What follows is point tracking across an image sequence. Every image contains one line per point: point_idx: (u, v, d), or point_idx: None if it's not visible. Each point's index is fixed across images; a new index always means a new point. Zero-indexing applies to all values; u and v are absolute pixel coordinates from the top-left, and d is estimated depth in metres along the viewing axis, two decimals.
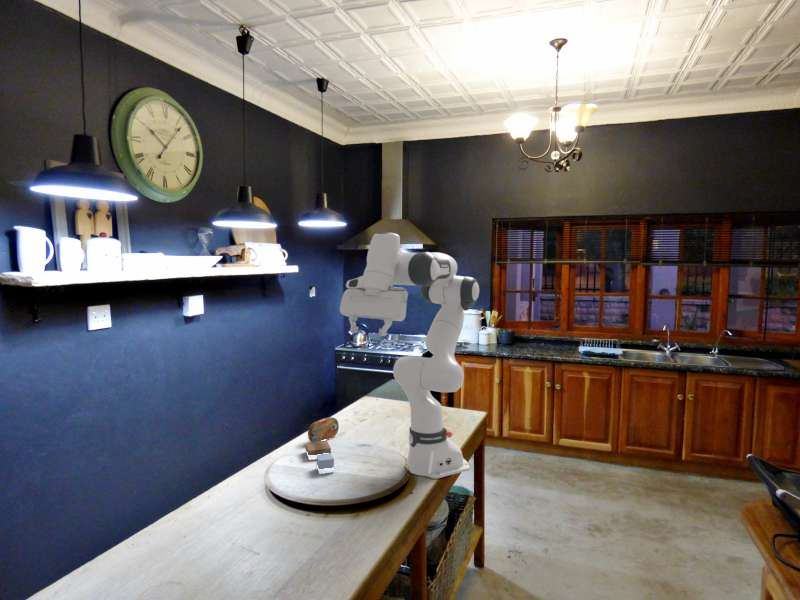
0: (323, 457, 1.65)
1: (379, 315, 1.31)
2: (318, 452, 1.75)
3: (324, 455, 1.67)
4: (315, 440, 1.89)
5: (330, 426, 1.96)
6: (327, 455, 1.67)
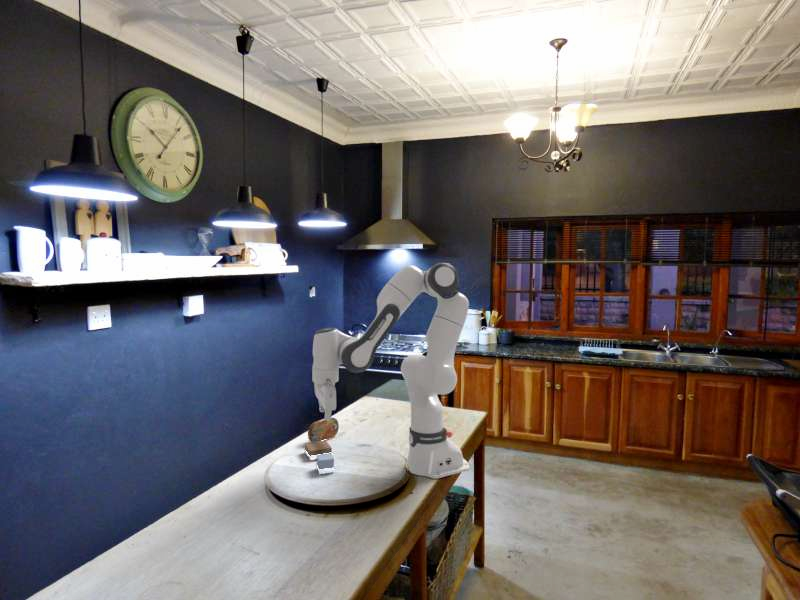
0: (323, 457, 1.65)
1: (322, 404, 1.60)
2: (319, 452, 1.75)
3: (324, 455, 1.67)
4: (315, 440, 1.89)
5: (330, 426, 1.96)
6: (327, 455, 1.67)
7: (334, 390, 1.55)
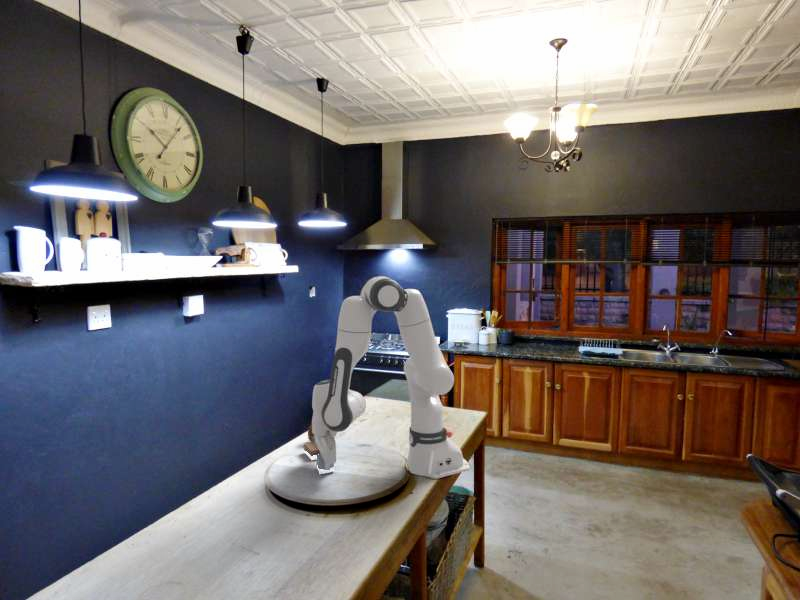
0: None
1: (322, 456, 1.61)
2: None
3: None
4: None
5: None
6: None
7: (334, 443, 1.57)
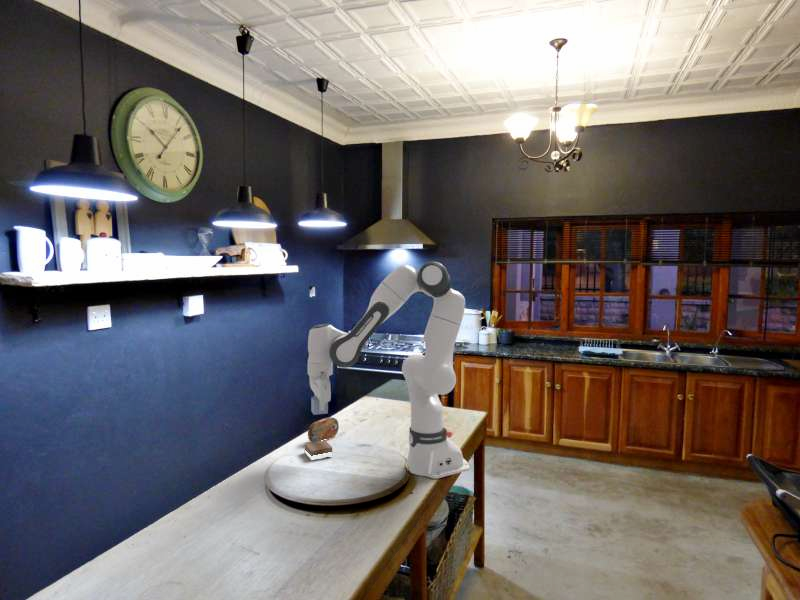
0: None
1: (317, 396, 1.68)
2: (320, 452, 1.75)
3: None
4: (315, 440, 1.89)
5: (330, 426, 1.96)
6: None
7: (328, 382, 1.64)
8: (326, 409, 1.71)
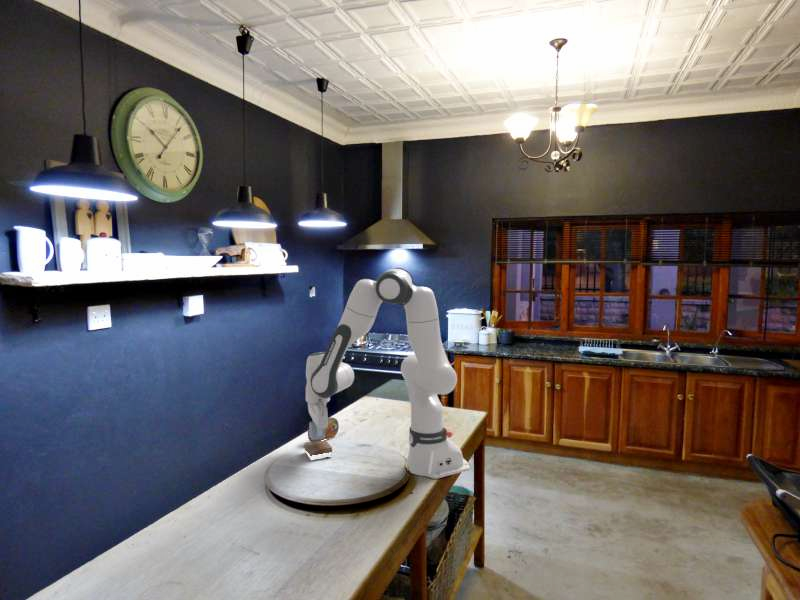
0: None
1: (314, 422, 1.74)
2: (320, 452, 1.75)
3: None
4: (315, 440, 1.89)
5: (330, 426, 1.96)
6: None
7: (326, 410, 1.69)
8: (323, 434, 1.76)
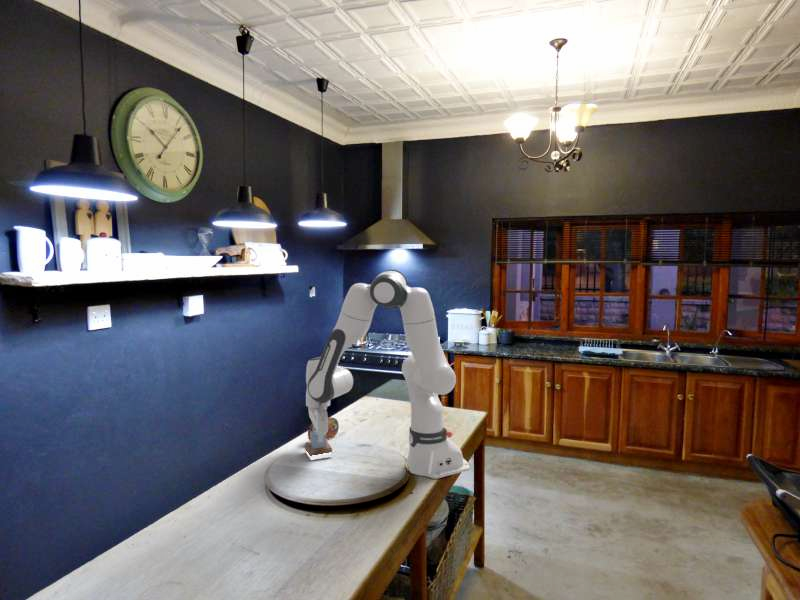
0: (316, 432, 1.78)
1: (315, 427, 1.74)
2: (319, 452, 1.75)
3: None
4: None
5: (330, 426, 1.96)
6: None
7: (326, 414, 1.69)
8: (324, 443, 1.77)
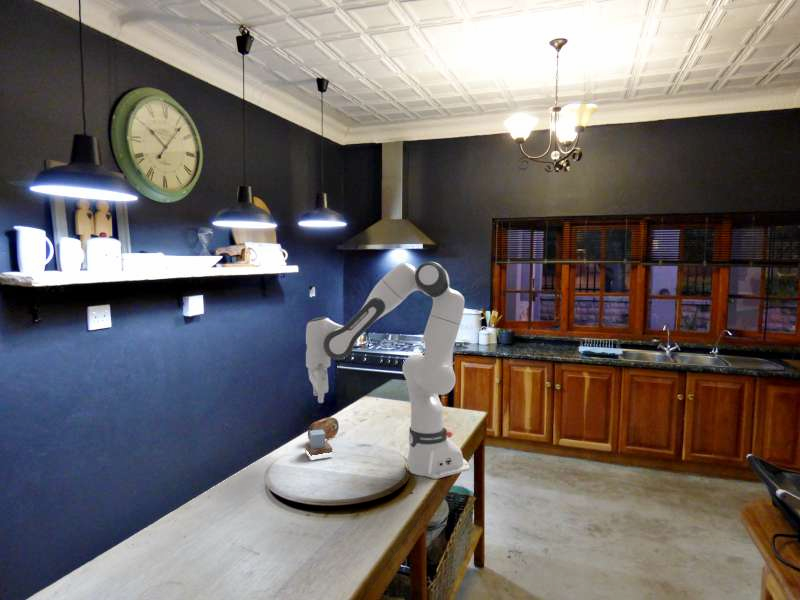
0: (315, 432, 1.78)
1: (315, 388, 1.73)
2: (320, 452, 1.75)
3: (316, 430, 1.80)
4: None
5: (330, 426, 1.96)
6: (319, 431, 1.80)
7: (326, 374, 1.68)
8: (324, 443, 1.77)
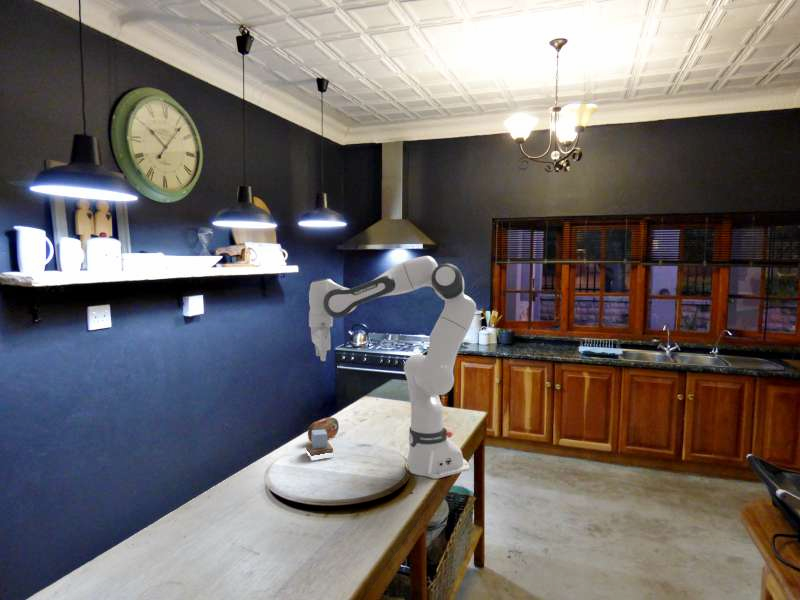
0: (317, 432, 1.78)
1: (317, 346, 1.78)
2: (320, 452, 1.75)
3: (318, 430, 1.80)
4: None
5: (330, 426, 1.96)
6: (321, 431, 1.80)
7: (328, 332, 1.73)
8: (325, 443, 1.77)
